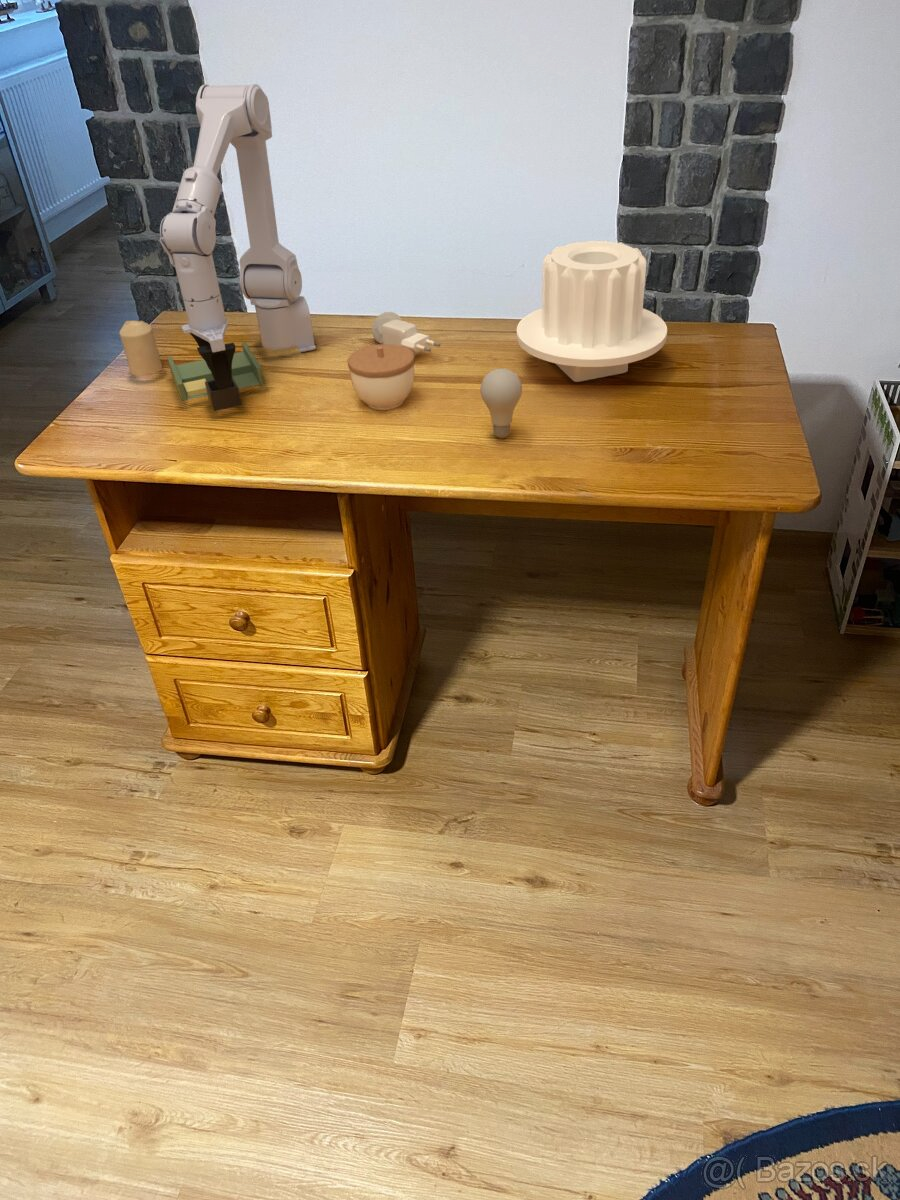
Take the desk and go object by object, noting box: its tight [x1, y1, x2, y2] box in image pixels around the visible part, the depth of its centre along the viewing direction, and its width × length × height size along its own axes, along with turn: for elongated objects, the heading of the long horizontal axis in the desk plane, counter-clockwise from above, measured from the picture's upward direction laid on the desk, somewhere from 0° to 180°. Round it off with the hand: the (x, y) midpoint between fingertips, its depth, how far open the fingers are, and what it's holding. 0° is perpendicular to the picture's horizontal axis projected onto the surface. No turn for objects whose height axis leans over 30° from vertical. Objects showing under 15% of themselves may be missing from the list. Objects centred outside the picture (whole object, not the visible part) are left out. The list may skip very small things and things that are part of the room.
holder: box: [205, 377, 242, 412], centre depth 150 cm, size 5×5×4 cm
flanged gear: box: [516, 239, 668, 383], centre depth 151 cm, size 25×25×19 cm
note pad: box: [183, 379, 207, 397], centre depth 154 cm, size 4×4×1 cm
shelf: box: [167, 341, 265, 402], centre depth 157 cm, size 14×12×4 cm
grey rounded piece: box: [371, 311, 403, 345], centre depth 170 cm, size 6×6×5 cm
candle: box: [119, 320, 163, 377], centre depth 160 cm, size 6×6×10 cm
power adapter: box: [382, 319, 441, 357], centre depth 161 cm, size 11×5×6 cm, turn 50°
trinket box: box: [347, 343, 415, 411], centre depth 147 cm, size 11×11×9 cm
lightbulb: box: [480, 367, 523, 439], centre depth 135 cm, size 6×6×11 cm
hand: (220, 377), depth 148 cm, fingers open, 7 cm apart
